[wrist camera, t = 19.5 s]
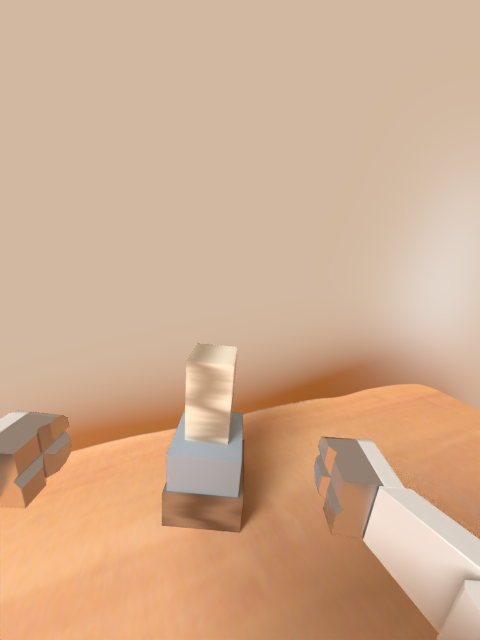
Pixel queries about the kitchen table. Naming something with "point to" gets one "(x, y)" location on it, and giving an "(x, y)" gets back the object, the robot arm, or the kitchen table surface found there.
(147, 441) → the kitchen table surface
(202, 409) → the cream pillar block
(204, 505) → the walnut base block
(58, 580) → the kitchen table surface
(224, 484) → the slate-blue top block
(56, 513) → the kitchen table surface
